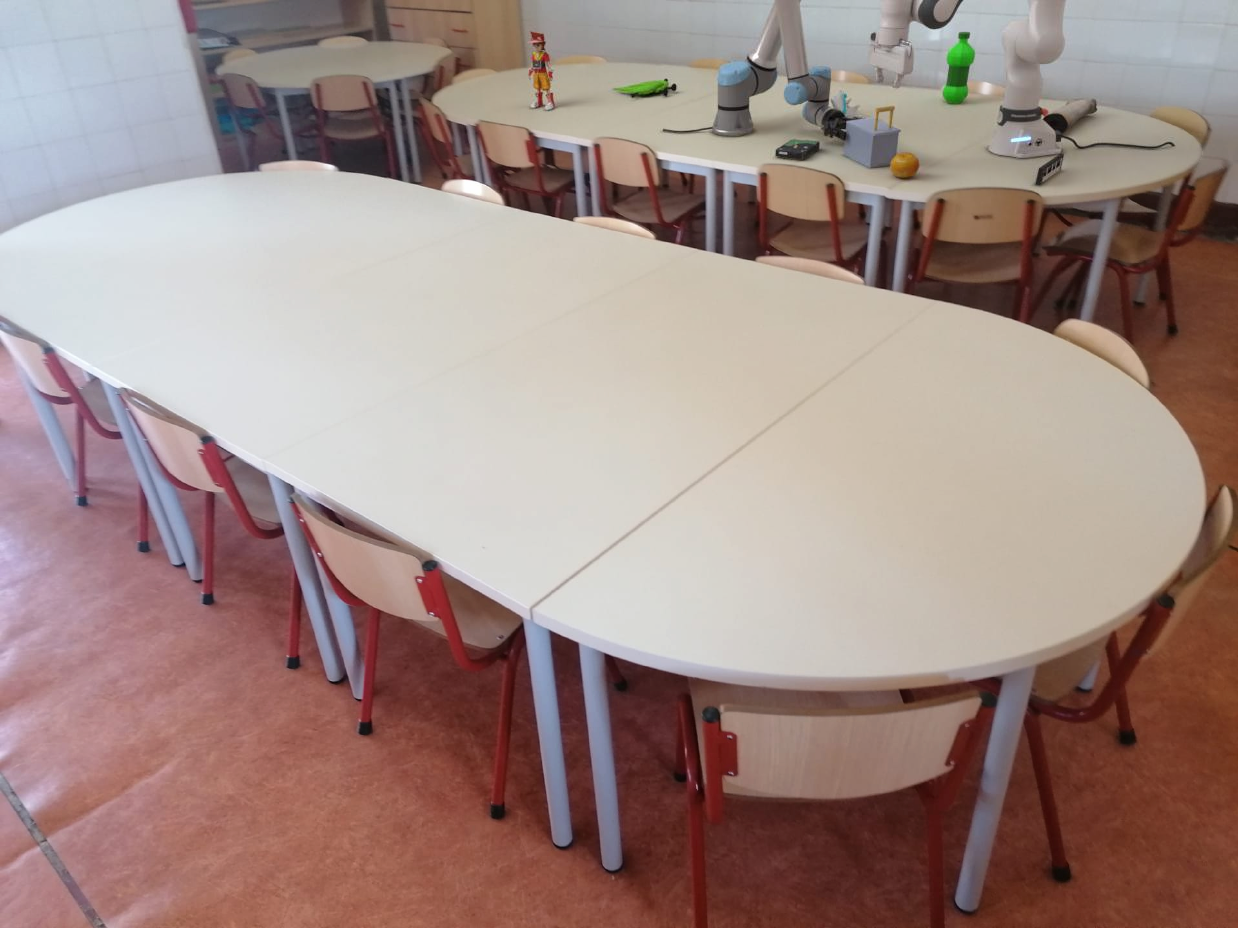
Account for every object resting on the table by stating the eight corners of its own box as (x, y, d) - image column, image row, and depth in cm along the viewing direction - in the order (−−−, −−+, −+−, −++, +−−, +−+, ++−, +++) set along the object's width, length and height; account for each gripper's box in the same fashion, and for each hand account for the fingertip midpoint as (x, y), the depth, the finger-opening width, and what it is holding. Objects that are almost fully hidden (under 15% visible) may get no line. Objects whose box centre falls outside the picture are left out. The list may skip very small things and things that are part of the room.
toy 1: (525, 109, 381) (517, 32, 364) (534, 104, 388) (527, 28, 371) (550, 110, 377) (543, 32, 360) (559, 105, 384) (553, 28, 367)
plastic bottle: (973, 101, 354) (984, 32, 339) (955, 106, 349) (966, 36, 335) (952, 97, 361) (962, 29, 346) (934, 102, 356) (944, 33, 342)
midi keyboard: (1039, 185, 269) (1043, 168, 266) (1035, 184, 270) (1038, 168, 267) (1060, 170, 279) (1064, 154, 277) (1056, 169, 280) (1060, 153, 277)
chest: (895, 164, 294) (899, 132, 288) (869, 168, 292) (873, 135, 286) (867, 151, 307) (871, 120, 302) (843, 155, 305) (846, 123, 299)
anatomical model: (825, 90, 346) (851, 83, 346) (828, 117, 352) (853, 110, 352) (836, 99, 334) (863, 92, 333) (839, 127, 340) (865, 120, 339)
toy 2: (686, 85, 398) (631, 84, 414) (685, 72, 395) (629, 72, 411) (651, 104, 381) (596, 103, 397) (650, 92, 378) (594, 91, 394)
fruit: (884, 168, 279) (900, 145, 276) (886, 170, 287) (902, 148, 284) (906, 183, 278) (923, 160, 275) (908, 185, 286) (924, 162, 283)
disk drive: (803, 161, 302) (819, 149, 312) (803, 153, 300) (820, 140, 310) (774, 158, 306) (791, 146, 316) (775, 149, 305) (792, 137, 315)
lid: (900, 132, 287) (903, 107, 283) (874, 136, 285) (877, 111, 281) (871, 120, 301) (873, 96, 297) (846, 123, 299) (848, 99, 295)
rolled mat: (1064, 103, 333) (1089, 85, 324) (1077, 124, 333) (1102, 107, 325) (1032, 125, 315) (1057, 107, 307) (1046, 147, 316) (1072, 129, 307)
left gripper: (861, 125, 322) (894, 140, 306) (798, 135, 317) (829, 150, 300) (863, 104, 318) (896, 117, 301) (800, 113, 312) (830, 127, 296)
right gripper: (921, 41, 265) (915, 90, 273) (884, 31, 282) (879, 78, 290) (903, 43, 264) (897, 93, 272) (866, 33, 280) (862, 80, 288)
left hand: (863, 133), depth 301 cm, fingers open, 13 cm apart
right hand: (887, 85), depth 281 cm, fingers open, 8 cm apart
